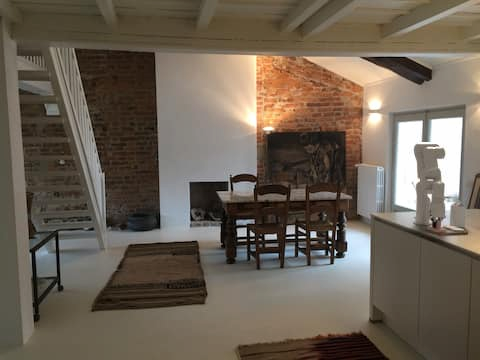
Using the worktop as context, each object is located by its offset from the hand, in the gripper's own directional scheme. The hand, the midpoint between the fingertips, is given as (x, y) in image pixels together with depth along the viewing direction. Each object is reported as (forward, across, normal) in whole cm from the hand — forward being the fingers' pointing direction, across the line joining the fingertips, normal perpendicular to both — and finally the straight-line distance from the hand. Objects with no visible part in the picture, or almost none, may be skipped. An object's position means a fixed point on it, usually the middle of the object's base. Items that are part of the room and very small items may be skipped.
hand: (436, 227), depth 273 cm
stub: (+2, 0, 0) cm, 2 cm away
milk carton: (+4, -27, -14) cm, 30 cm away
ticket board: (+4, -8, 0) cm, 9 cm away
